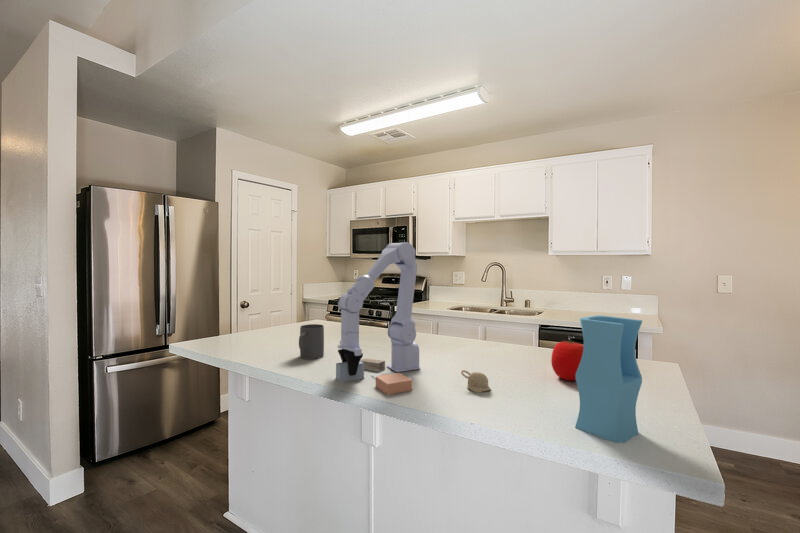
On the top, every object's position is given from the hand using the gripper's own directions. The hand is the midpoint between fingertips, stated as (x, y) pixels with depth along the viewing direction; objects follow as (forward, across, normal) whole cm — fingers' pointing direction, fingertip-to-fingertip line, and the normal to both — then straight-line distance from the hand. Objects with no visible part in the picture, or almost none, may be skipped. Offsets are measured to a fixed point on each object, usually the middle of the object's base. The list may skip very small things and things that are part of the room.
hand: (350, 373), depth 122 cm
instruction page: (+2, +4, +11) cm, 12 cm away
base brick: (+2, +15, +8) cm, 17 cm away
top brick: (+2, 0, 0) cm, 2 cm away
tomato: (+2, +34, +62) cm, 71 cm away
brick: (+2, -7, +11) cm, 13 cm away
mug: (+2, -31, -5) cm, 31 cm away
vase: (+2, +62, +38) cm, 73 cm away
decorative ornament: (+2, +27, +29) cm, 40 cm away
